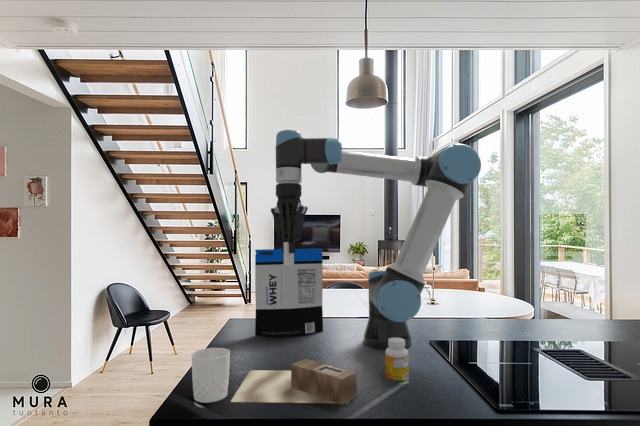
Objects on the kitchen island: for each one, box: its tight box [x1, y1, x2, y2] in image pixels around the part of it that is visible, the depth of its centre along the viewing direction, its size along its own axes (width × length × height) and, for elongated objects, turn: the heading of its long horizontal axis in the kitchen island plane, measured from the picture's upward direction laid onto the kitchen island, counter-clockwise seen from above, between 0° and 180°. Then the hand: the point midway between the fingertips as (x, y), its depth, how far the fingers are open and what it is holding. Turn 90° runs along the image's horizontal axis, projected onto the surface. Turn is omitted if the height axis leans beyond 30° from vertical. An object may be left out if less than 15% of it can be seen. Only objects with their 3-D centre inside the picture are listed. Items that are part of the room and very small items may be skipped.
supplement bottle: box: [384, 338, 410, 386], centre depth 90 cm, size 5×5×10 cm
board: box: [230, 369, 350, 404], centre depth 85 cm, size 24×18×1 cm
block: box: [290, 358, 358, 406], centre depth 81 cm, size 5×5×14 cm
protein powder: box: [254, 248, 324, 339], centre depth 135 cm, size 10×24×30 cm, turn 103°
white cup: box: [191, 347, 231, 409], centre depth 80 cm, size 8×8×10 cm
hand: (288, 264), depth 110 cm, fingers closed
